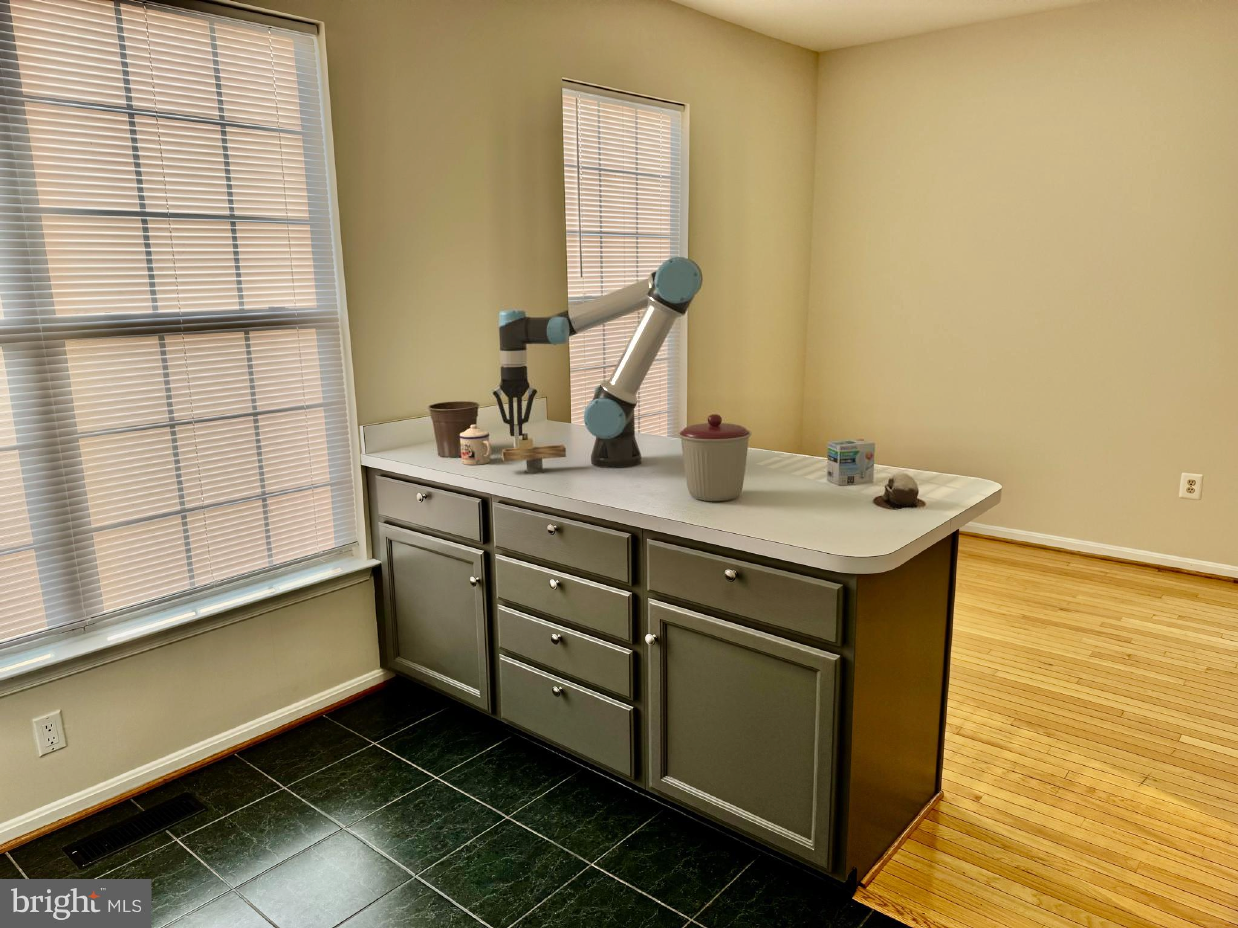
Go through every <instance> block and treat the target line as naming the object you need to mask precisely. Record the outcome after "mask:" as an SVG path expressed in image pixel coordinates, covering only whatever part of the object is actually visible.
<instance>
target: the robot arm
mask: <svg viewBox="0 0 1238 928" xmlns="http://www.w3.org/2000/svg"><path fill="white" fill-rule="evenodd" d="M702 285H703V273H702V270H701V268H700V266H699V265H698V264H697V263H696V262H695V261H693V260H692V259H690V258H686V257H683V256H675V257H671V258H668V259H667V260H665V261H664V262H662V264H661V265H660V266H659V267H658V268H657V270H656V271H652V272H651V273H650V274H649V276H648V277H647V278H645V279H642V280H640V281H637V282H635V283H632V284H629V285H627V286H625V287H622V288H620V289H617V290H615V291H612V292H609V293H606V294H604V295H602V296H599V297H597V298H594V299H591V300H588V301H585V302H584V303H581V304H577V305H576V306H574V307H571V308H569V309H567V310H564V311H561V312H557V313H555V314H553V315H550V316H536V317H535V316H534V317H531V316H527V314H526V310H524V309H505V310H501V311H500V312H499V314H498V333H499V334H498V336H499V355H500V356H499V359H500V360H499V361H500V362H499V364H501V365H502V366H501V367H500V382H499V387H497V388H496V389H493V390H492V391H491V393H492V395H493V396H494V397H495V399H496V402H497V405H498V409H499V412H500V415H501V418H502V422H503V424H505V425H506V424H507V425H508V426H509V435H510V437H513V448H519V439H520V437H522V434H523V425H524V424H526V423H529V419H530V416H531V410H532V406H533V402H534V399H535V396H536V395H537V393H538V390H537V389H536V388H533V387H532V386H530V382H529V379H528V366H527V363H528V355H527V354H528V352H527V350H528V348H527V345H554V346H556V345H565V344H566V343H568V341H569V338H570V337H572V336H576V335H577V334H580V333H583V332H585V331H588V330H591V329H594V328H595V327H598V326H601V325H604V324H606V323H609V322H611V321H614V320H617V319H620V318H622V317H625V316H628V315H629V314H633V313H635V312H638V311H641V310H644V309H645V310H644V312H643V314H642V316H641V318H640V319H639V321H638V323H637V325H636V327H635V329H634V331H633V332H632V335H631V336H630V339H629V341H628V342H627V344H626V346H625V348H624V350H623V352H622V354H621V356H620V357H619V359H618V361H617V363H616V366H615V368H614V370H613V371H612V373H611V375H610V377H609V379H608V380H606V381H602V382H600V385H599V386H597V387H595V389H594V394H593V397H592V399H591V401H590V402H589V403H588V404H587V405H586V407H585V408H584V409H585V410H584V412H583V422H584V425H585V428H586V430H587V431H588V432H589V433H590V434H592V436H594V437H595V441H594V444H593V448H592V450H591V455H590V464H591V465H592V466H595V467H598V468H609V469H611V468H627V467H628V468H629V467H632V466H637V465H640V464H641V463H642V453H641V451H640V448H639V445H638V442H637V439H636V430H635V429H636V428H635V427H636V426H635V421H636V420H635V409H636V407H637V404H638V398H637V393H638V391H639V389H640V387H641V385H642V384H643V382H644V380H645V378H646V376H647V374H648V372H649V370H650V368H651V367H652V365H653V363H654V362H655V359H656V357H657V356H658V354H659V352H660V350H661V348H662V346H663V345H664V342H665V341H666V338H667V337H668V335H669V333H670V331H671V329H672V327H673V325H674V323H675V322H676V320H677V319H678V318H681V317H684V316H685V315H686V313H687V311H688V309H689V308H690V305H691V304H692V302H693V300H694V298H695V297H696V295H697V294H698V293H699V291H700V290H701V288H702ZM502 393H503V394H504V395H505V397H506V398H507V401H508V402H507V403H508V405H507V407H508V416H507V413H506V410H505V407H504V404H503V400H502V397H501V396H502ZM526 393H527V394H528V396H527V401H526V405H525V411H524V415H523V397H524V396H525V394H526ZM514 399H516V423H515V411H514Z"/></svg>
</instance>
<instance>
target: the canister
mask: <svg viewBox="0 0 1238 928" xmlns="http://www.w3.org/2000/svg"><path fill="white" fill-rule="evenodd" d="M706 420H707V422H705V423H697V424H691V425H689V426H686V427H684V428H683V429H682V430H680V431H679V432H678V434H677V436H678V437H679V438H680V439H681V440H680V441H681V443H680V444H681V451H682V458H683V466H684V467H683V468H684V475H685V481H686V486H687V487H686V488H687V490H688V493H689V494H690V496H691V497H692V498H694V499H696V500H699V501H703V502H704V501H705V502H724V501H725V502H726V501H730V500H734V499H736V498H738V497H739V496H740V494H741V492H743V491H742V490H743V487H744V486H743V485H744V482H745V481H744V480H745V473H746V467H747V466H746V465H747V457H748V450H749V449H748V447H749V438H750V437H751V436H752V432H751V430H749V429H747V428H746V427H744V426H742V425H739V424H734V423H728V422H727V423H725V422H722V421H723V419H722V416H721V415H720V414H717V413H715V414H714V413H713V414H709V415H708V417H707V419H706Z"/></svg>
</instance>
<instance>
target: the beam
mask: <svg viewBox="0 0 1238 928" xmlns="http://www.w3.org/2000/svg"><path fill="white" fill-rule="evenodd" d="M566 451H567V448H566V446H564V444H558V445H557V444H554V445H542V446H533V450H521V451H518V448H515V447H513V448H512V447H510V448H502V449H501V458H502V460H503V462H515V461H525V463H526V470H527V472H528V474H531V473H532V474H541V473H542V474H543V473H544V465H543V459H544V460H545V459H557V458H558V459H559V458H566V457H567V452H566Z"/></svg>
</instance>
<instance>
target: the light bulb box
mask: <svg viewBox="0 0 1238 928" xmlns="http://www.w3.org/2000/svg"><path fill="white" fill-rule="evenodd" d="M875 449H876V443H875V442H872V441H869V440H867V439H865V438H857V439H856V438H855V439H842V440H833V441H827V461H826V462H827V465H826V466H827V467H826V481H827V482H830V483H832V484H835V485H836V486H846V485H847V486H849V485H858V484H859V485H861V484H873V483H874V476H875V475H874V471H875Z"/></svg>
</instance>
